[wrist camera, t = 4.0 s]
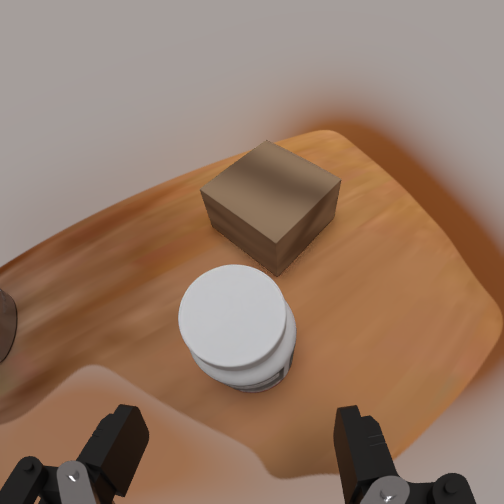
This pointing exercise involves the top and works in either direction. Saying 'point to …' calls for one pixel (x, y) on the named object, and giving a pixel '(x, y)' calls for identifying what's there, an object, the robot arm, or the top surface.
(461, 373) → the top surface
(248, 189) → the walnut block
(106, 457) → the robot arm
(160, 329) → the top surface
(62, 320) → the top surface
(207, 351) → the pill bottle
